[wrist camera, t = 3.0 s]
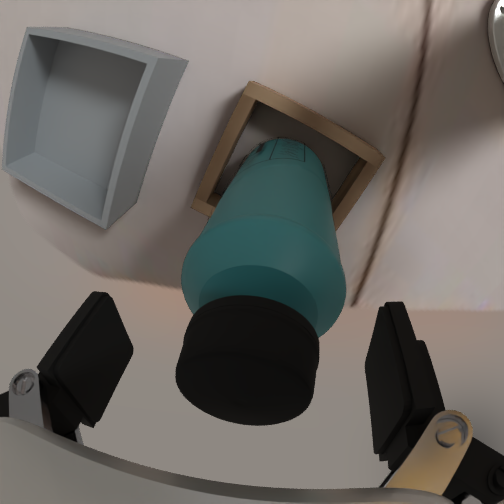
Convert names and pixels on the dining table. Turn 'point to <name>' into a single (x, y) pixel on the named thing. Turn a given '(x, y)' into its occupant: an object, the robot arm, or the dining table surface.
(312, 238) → the beverage bottle
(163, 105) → the bin
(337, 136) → the collar
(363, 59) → the dining table surface
